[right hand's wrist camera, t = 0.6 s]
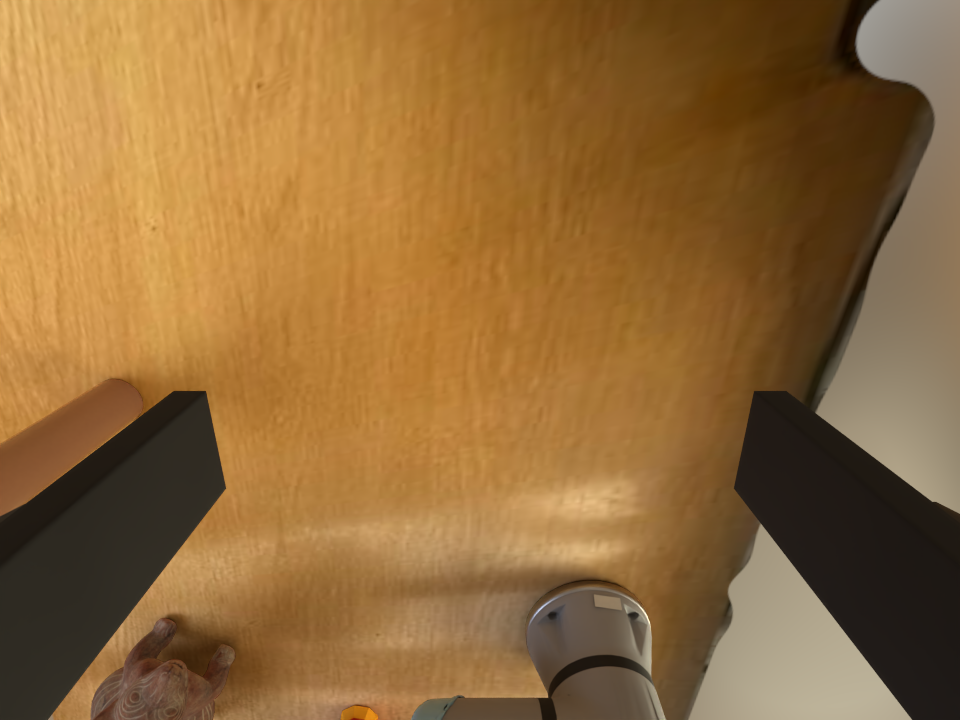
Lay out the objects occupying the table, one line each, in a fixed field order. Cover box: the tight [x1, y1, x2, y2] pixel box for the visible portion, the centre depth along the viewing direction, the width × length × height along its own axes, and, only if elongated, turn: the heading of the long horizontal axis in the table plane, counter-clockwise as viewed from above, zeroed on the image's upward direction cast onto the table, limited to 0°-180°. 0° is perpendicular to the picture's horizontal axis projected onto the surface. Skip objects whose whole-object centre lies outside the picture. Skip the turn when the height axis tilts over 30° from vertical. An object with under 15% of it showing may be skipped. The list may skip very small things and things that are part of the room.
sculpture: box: [91, 618, 235, 720], centre depth 60 cm, size 14×25×15 cm, turn 153°
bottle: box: [0, 379, 143, 516], centre depth 42 cm, size 5×5×25 cm
